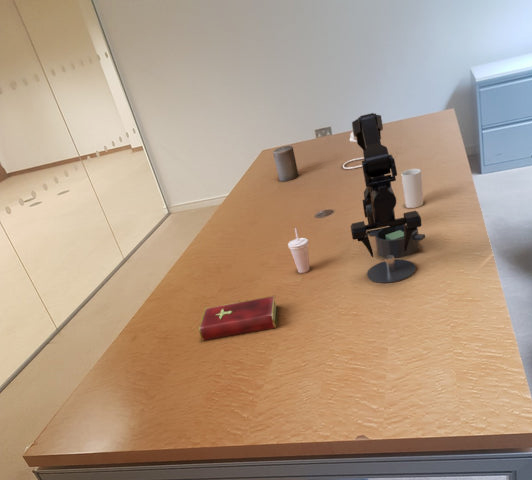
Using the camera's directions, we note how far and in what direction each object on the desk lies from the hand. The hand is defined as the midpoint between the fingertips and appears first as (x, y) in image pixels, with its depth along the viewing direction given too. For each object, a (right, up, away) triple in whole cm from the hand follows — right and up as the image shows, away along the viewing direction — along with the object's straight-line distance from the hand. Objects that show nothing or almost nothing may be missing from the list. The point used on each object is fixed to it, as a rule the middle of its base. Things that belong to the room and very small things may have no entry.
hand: (388, 253), depth 159 cm
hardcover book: (-42, -20, 0) cm, 46 cm away
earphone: (+11, +61, +102) cm, 119 cm away
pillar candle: (-24, +56, +111) cm, 127 cm away
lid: (+1, -5, +3) cm, 6 cm away
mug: (+19, +26, +45) cm, 56 cm away
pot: (+6, +3, +15) cm, 17 cm away
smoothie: (-23, -2, +20) cm, 30 cm away
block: (+6, +4, +15) cm, 16 cm away
